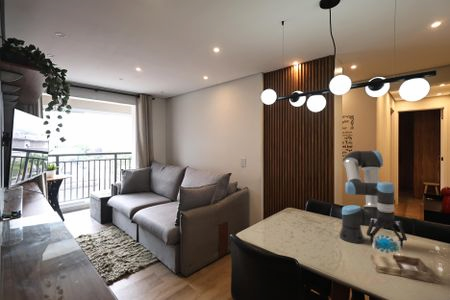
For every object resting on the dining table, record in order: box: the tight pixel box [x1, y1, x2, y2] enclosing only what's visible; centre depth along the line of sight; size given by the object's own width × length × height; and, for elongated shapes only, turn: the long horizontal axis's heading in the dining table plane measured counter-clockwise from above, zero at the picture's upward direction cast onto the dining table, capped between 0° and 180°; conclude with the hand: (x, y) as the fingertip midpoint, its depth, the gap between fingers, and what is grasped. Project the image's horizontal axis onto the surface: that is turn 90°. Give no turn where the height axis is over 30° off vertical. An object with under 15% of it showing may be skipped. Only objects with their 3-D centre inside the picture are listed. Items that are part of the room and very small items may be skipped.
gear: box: [375, 234, 399, 254], centre depth 119 cm, size 11×6×10 cm
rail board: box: [369, 253, 434, 283], centre depth 116 cm, size 23×16×4 cm
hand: (386, 250), depth 118 cm, fingers closed on gear, 11 cm apart
